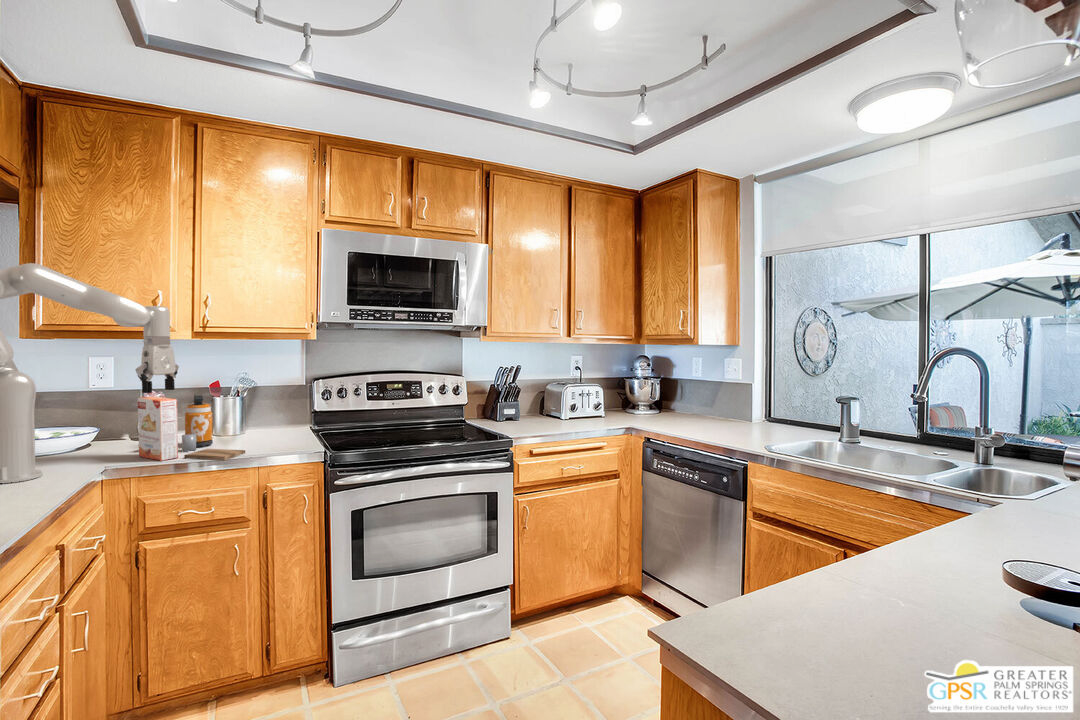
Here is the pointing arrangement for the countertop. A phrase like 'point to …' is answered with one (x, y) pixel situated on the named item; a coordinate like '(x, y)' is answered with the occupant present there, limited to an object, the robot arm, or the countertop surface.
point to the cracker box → (157, 428)
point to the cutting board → (215, 454)
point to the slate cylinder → (188, 442)
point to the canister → (199, 421)
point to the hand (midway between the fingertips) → (158, 391)
